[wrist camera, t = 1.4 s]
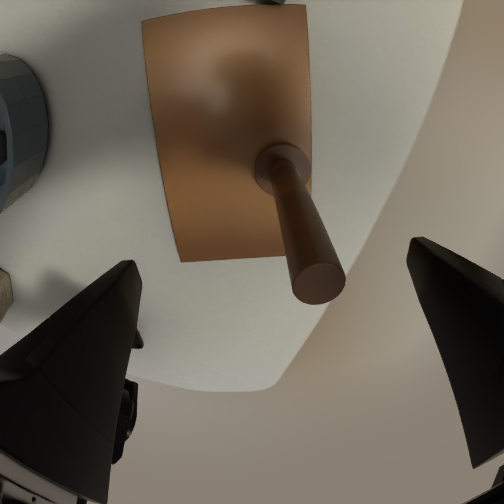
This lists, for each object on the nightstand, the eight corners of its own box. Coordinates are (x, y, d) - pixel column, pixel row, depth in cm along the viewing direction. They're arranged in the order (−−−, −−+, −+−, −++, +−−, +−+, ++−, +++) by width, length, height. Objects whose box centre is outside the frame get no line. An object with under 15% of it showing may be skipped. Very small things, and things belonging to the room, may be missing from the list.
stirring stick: (308, 191, 21) (362, 317, 11) (255, 194, 21) (266, 327, 11) (308, 140, 19) (379, 234, 9) (252, 143, 19) (261, 241, 9)
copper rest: (307, 247, 24) (309, 254, 23) (182, 255, 24) (180, 262, 24) (303, 7, 14) (306, 4, 13) (145, 23, 14) (141, 21, 14)
